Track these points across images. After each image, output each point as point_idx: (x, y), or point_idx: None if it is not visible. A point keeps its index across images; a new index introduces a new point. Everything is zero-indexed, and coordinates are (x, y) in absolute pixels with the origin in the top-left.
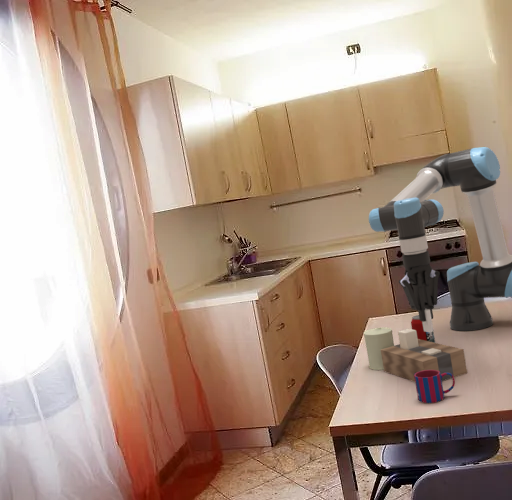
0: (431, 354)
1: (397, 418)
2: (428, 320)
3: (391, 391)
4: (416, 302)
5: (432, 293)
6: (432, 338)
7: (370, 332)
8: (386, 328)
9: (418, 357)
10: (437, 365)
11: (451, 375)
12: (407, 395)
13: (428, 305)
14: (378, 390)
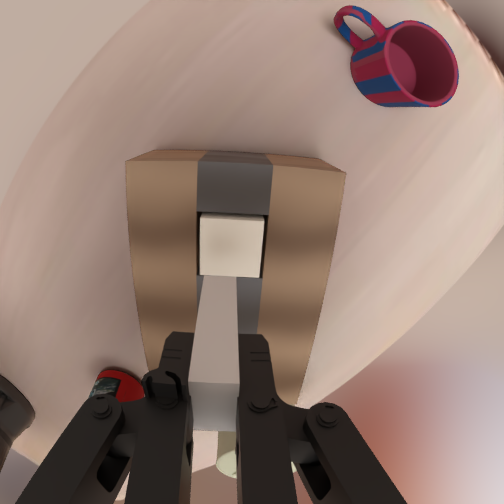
0: (255, 219)
1: (489, 71)
2: (227, 322)
3: (399, 214)
4: (347, 467)
5: (85, 501)
6: (98, 391)
7: None
8: (225, 466)
9: (311, 236)
10: (272, 161)
11: (355, 6)
12: (401, 149)
13: (186, 418)
14: (406, 251)
